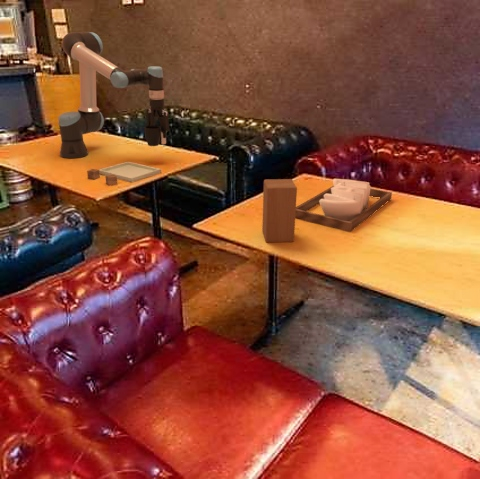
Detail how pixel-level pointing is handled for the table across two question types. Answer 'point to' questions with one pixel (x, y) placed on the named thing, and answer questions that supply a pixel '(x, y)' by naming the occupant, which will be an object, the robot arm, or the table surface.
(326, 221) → the book corral
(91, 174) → the walnut cube
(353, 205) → the white wavy slab sculpture
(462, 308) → the table surface
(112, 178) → the walnut cube
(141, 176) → the tray
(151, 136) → the mug
